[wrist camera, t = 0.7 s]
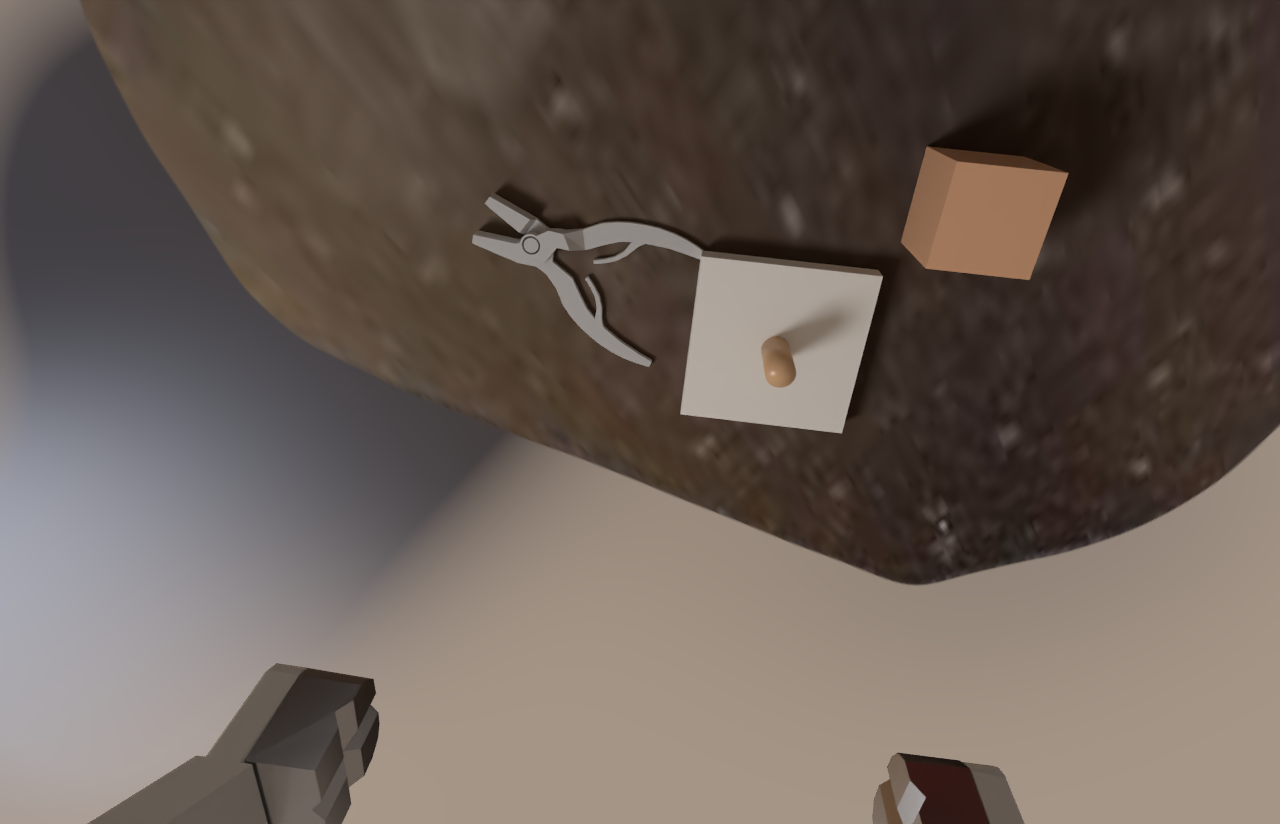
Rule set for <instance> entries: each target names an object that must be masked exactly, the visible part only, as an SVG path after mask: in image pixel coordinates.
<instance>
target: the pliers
mask: <svg viewBox="0 0 1280 824" xmlns="http://www.w3.org/2000/svg"><path fill="white" fill-rule="evenodd" d="M485 204H486V205H487V206H488V207H489V208H490V209H492V210H493V211H494V212H495V213H496V214H498V215H499V216H500V217H501V218H502V219H503V220H505V221H506V222H507V223H508V224H509V225H511V226H512V227H513V228H514V229H515V230H516V231H518V232H519V233H521V234H525V235H524V236H523V237H522V238H521V239H517V238H512V237H507V236H503V235H498V234H493V233H489V232H484V231H479V230H478V231H477V232H476V233H475V234H473V244H475V245H477V246H480V247H482V248H484V249H487V250H489V251H491V252H494V253H496V254H498V255H501V256H503V257H505V258H508V259H510V260H513V261H515V262H517V263H521V264H526V265H531V266H535V267H538V268H539V269H540V270H541V271H543V272H544V273H545V274H546V275H547V276H548V277H549V279H550V280H551V282H552V283H553V285H554V286H555V288H556V289H557V291H558V294H559V296H560V299H561V301H562V303H563V306H564V307H565V309H566V310H567V312H568V313H569V315H570V316H571V318H572V319H573V320H574V321H575V322H576V323H577V324H578V325H579V327H580V328H581V329H582V330H583V331H585V332H586V333H587V334H588V335H589V336H590V337H591V338H592V339H594V340H595V341H596V342H597V343H599V344H600V345H601V346H603V347H605V348H606V349H608V350H609V351H611V352H613V353H614V354H616V355H618V356H620V357H622V358H624V359H627V360H629V361H632V362H635V363H638V364H641V365H644V366H647V367H649V366H650V364H651V362H652V359H650V358H648V357H646V356H645V355H643V354H641V353H640V352H638V351H637V350H635V349H634V348H632V347H631V346H629V345H628V344H626V343H625V342H623V341H622V340H621V339H619V338H618V337H617V336H616V335H614V334H613V333H612V332H611V331H610V330H609V329H607V328H606V327H605V326H604V323H603V319H602V302H601V298H600V294H599V292H598V290H597V288H596V286H595V284H594V283H593V281H592V280H591V278H590V277H589V275H588V276H587V277H586V278H585V280H586V281H587V283H588V284H589V286H590V288H591V290H592V292H593V294H594V296H595V300H596V305H597V310H596V315H595V316H594V315H593V313H592V312H591V311H590V310H589V309H588V307H587V305H586V303H585V301H584V299H583V297H582V295H581V293H580V291H579V289H578V287H577V284H576V282H575V280H574V278H573V276H571V275H570V274H569V273H568V272H567V271H565V270H564V269H563V268H562V267H561V266H560V265H558V264H557V263H556V262H555V261H554V260H553V258H554V251H555V250H556V249H557V248H560V249H564V250H569V251H575V250H588V249H591V248H595V247H599V246H602V245H606V244H611V243H616V242H631V243H630V244H629V245H628V247H627V248H626V249H625V250H624V251H622V252H620V253H619V254H617V255H615V256H611V257H607V258H599V259H594V260H593V261H594V264H601V263H608V262H613V261H617V260H619V259H621V258H623V257H625V256H627V255H628V254H630V253H631V252H632V251H633V250H635V249H636V248H637V247H639V246H641V245H643V244H650V245H655V246H660V247H664V248H668V249H672V250H675V251H678V252H681V253H684V254H686V255H689V256H692V257H695V258H697V259H701V252H704V250H703V249H702V248H700V247H699V246H697V245H696V244H694V243H693V242H691V241H690V240H688V239H686V238H684V237H682V236H680V235H678V234H676V233H674V232H671V231H669V230H666V229H663V228H660V227H657V226H652V225H648V224H643V223H637V222H627V221H611V222H602V223H598V224H595V225H592V226H589V227H586V228H581V229H569V230H566V229H562V228H549V227H548V226H546V225H545V224H544V223H543V222H542V221H541V220H539V219H538V218H537V217H535V216H533V215H531V214H530V213H528V212H526V211H524V210H523V209H521V208H519V207H518V206H516V205H514V204H512V203H511V202H509V201H507V200H505V199H504V198H502V197H500V196H498V195H497V194H495V193H494V194H493V195H492V196H490V197H489V199H488V200H487V201H486V203H485Z"/></svg>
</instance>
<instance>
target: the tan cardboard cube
mask: <svg viewBox="0 0 1280 824" xmlns="http://www.w3.org/2000/svg"><path fill="white" fill-rule="evenodd" d="M1068 174H1069V173H1067V172H1064V171H1062V170H1059V169H1056V168H1054V167H1051V166H1048V165H1046V164H1043V163H1040V162H1038V161H1035V160H1032V159H1030V158H1027V157H1024V156H1014V155H1005V154H995V153H985V152H976V151H966V150H957V149H947V148H937V147H928V146H927V147H926V151H925V155H924V158H923V162H922V166H921V170H920V173H919V177H918V181H917V184H916V188H915V192H914V195H913V199H912V203H911V207H910V210H909V214H908V218H907V221H906V225H905V229H904V233H903V236H902V240H901V243H902V244H903V245H904V246H905V247H906V248H907V249H908V250H909V251H910V252H911V253H912V254H913V255H914V257H915V258H916V259H917V260H918V261H919V262H920V263H921V264H922V265H923V266H924V267H925V268H926V269H935V270H944V271H953V272H962V273H971V274H980V275H989V276H998V277H1008V278H1017V279H1026V280H1029V279H1030V277H1031V274H1032V271H1033V269H1034V266H1035V263H1036V260H1037V258H1038V255H1039V252H1040V250H1041V247H1042V244H1043V241H1044V239H1045V236H1046V233H1047V231H1048V228H1049V225H1050V222H1051V220H1052V217H1053V214H1054V212H1055V209H1056V206H1057V203H1058V201H1059V198H1060V195H1061V193H1062V190H1063V187H1064V184H1065V182H1066V179H1067V176H1068Z"/></svg>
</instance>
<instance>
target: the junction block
mask: <svg viewBox="0 0 1280 824" xmlns="http://www.w3.org/2000/svg"><path fill="white" fill-rule="evenodd" d="M882 279H883V276H882V274H881V273H880V272H879V270H875V269H866V268H857V267H848V266H839V265H830V264H821V263H812V262H803V261H794V260H784V259H775V258H766V257H757V256H748V255H739V254H730V253H721V252H712V251H704V252H701V259H700V266H699V274H698V281H697V289H696V297H695V304H694V312H693V319H692V327H691V335H690V342H689V350H688V357H687V365H686V372H685V380H684V388H683V395H682V403H681V414H683V415H692V416H700V417H709V418H717V419H726V420H734V421H742V422H751V423H759V424H768V425H776V426H785V427H793V428H801V429H810V430H818V431H827V432H835V433H842V431H843V427H844V423H845V419H846V415H847V412H848V408H849V404H850V400H851V396H852V393H853V389H854V385H855V381H856V377H857V374H858V370H859V366H860V362H861V358H862V355H863V351H864V347H865V343H866V339H867V336H868V332H869V328H870V324H871V320H872V317H873V313H874V309H875V305H876V301H877V298H878V294H879V290H880V286H881V282H882Z"/></svg>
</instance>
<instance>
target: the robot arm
mask: <svg viewBox="0 0 1280 824" xmlns="http://www.w3.org/2000/svg"><path fill="white" fill-rule="evenodd" d="M375 694H376V691H375V685H374V680H373V679H370V678H364V677H358V676H352V675H346V674H340V673H334V672H328V671H322V670H316V669H310V668H304V667H298V666H292V665H284V664H278V663H276V664H275V665H274V666H273V667H271V668H270V669H269V670H268V671H266V672H265V674H264V675H263V676H262V678H261V679H260V681H259V682H258V684H257V685H256V686H255V688H254V689H253V691H252V692H251V694H250V695H249V696H248V698H247V699H246V701H245V702H244V703H243V705H242V706H241V708H240V709H239V711H238V712H237V713H236V715H235V716H234V718H233V719H232V721H231V722H230V723H229V725H228V726H227V728H226V729H225V730H224V732H223V733H222V735H221V736H220V737H219V739H218V740H217V742H216V743H215V745H214V746H213V747H212V749H211V750H210V752H209V753H208V755H207V756H206V757H203V756H195V757H194V758H192V759H190V760H189V761H187V762H186V763H184V764H182V765H181V766H179V767H177V768H176V769H174V770H173V771H171V772H169V773H168V774H166V775H165V776H163V777H161V778H160V779H158V780H157V781H155V782H153V783H152V784H150V785H149V786H147V787H145V788H144V789H142V790H141V791H139V792H137V793H136V794H134V795H133V796H131V797H129V798H128V799H126V800H125V801H123V802H121V803H120V804H118V805H117V806H115V807H113V808H112V809H110V810H109V811H107V812H105V813H104V814H102V815H101V816H99V817H97V818H96V819H94V820H93V821H91V822H89V823H88V824H342V822H343V820H344V818H345V816H346V814H347V811H348V809H349V807H350V805H351V799H350V793H349V787H350V786H351V785H352V784H354V783H355V782H356V781H358V780H359V779H360V778H362V777H363V776H364V775H365V773H366V771H367V768H368V766H369V764H370V762H371V760H372V757H373V753H374V750H375V747H376V743H377V740H378V733H379V715H378V712H377V711H376V710H375V709H374V708H373V707H372V706H371V702H372V700H373V698H374V696H375ZM887 768H888V772H889V777H890V779H889V780H888V781H886V782H884V783H882V784H881V785H879V788H878V790H877V793H876V796H875V798H874V807H873V824H1024V822H1023V819H1022V817H1021V814H1020V812H1019V810H1018V807H1017V804H1016V802H1015V800H1014V797H1013V795H1012V792H1011V790H1010V787H1009V785H1008V782H1007V780H1006V777H1005V775H1004V774H1003V773H1002V771H1001V770H1000V769H999V768H998V767H994V766H989V765H980V764H973V763H964V762H961V761H958V760H950V759H943V758H935V757H927V756H919V755H911V754H903V753H896V754H895V755H894V756H892V758H891V760H890V762H889V764H888V766H887Z"/></svg>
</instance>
